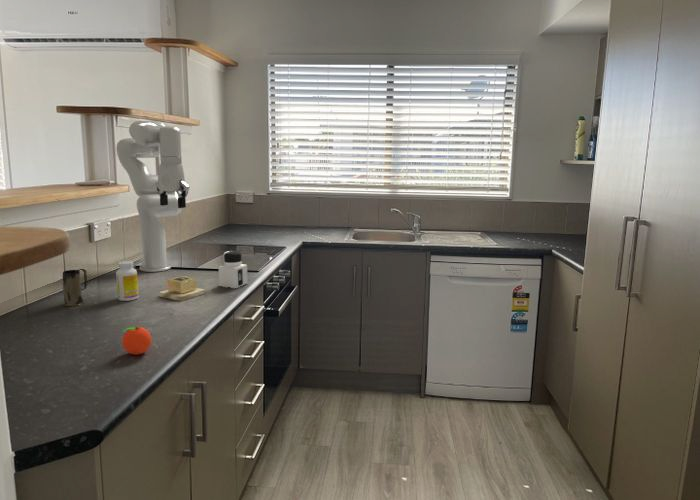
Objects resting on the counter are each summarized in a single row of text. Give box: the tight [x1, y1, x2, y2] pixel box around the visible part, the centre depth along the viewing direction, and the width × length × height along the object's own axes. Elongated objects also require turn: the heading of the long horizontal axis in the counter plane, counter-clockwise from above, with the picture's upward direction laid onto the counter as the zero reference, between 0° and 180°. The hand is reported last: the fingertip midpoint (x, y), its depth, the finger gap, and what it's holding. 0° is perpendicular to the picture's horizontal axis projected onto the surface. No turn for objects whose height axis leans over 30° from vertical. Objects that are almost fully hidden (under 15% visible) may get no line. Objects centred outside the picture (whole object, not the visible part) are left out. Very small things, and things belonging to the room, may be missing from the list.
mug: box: [62, 268, 88, 307], centre depth 176 cm, size 8×6×12 cm
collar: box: [166, 275, 197, 294], centre depth 188 cm, size 7×7×4 cm
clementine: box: [118, 326, 152, 355], centre depth 136 cm, size 8×7×7 cm
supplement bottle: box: [115, 260, 140, 302], centre depth 183 cm, size 7×7×13 cm
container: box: [218, 250, 248, 289], centre depth 201 cm, size 8×8×13 cm
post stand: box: [158, 278, 206, 302], centre depth 188 cm, size 11×11×6 cm
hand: (173, 206), depth 203 cm, fingers open, 9 cm apart
